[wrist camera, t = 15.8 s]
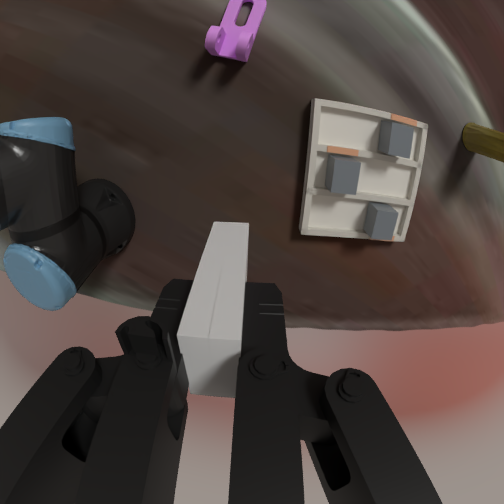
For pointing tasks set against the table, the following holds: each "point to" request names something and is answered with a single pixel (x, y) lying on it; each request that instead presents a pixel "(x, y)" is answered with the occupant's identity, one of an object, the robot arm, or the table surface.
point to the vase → (484, 141)
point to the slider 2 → (395, 139)
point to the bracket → (235, 31)
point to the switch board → (371, 171)
